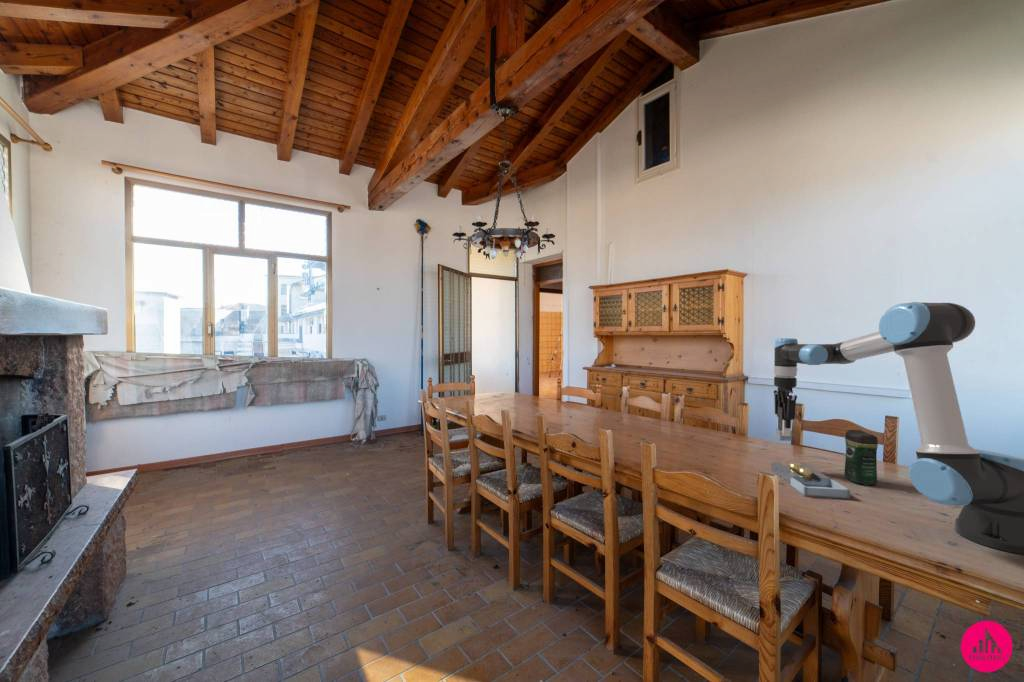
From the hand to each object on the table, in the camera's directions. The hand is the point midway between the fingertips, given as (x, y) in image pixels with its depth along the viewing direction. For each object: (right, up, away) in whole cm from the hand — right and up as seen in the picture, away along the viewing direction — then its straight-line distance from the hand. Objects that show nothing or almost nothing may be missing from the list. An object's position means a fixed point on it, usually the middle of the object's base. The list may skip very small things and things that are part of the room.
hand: (784, 434), depth 163 cm
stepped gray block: (0, -2, 0) cm, 2 cm away
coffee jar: (+19, -14, -13) cm, 28 cm away
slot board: (-2, -14, -11) cm, 18 cm away
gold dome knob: (-2, -12, -15) cm, 19 cm away
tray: (-4, -14, -23) cm, 28 cm away
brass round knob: (-2, -12, -9) cm, 15 cm away
